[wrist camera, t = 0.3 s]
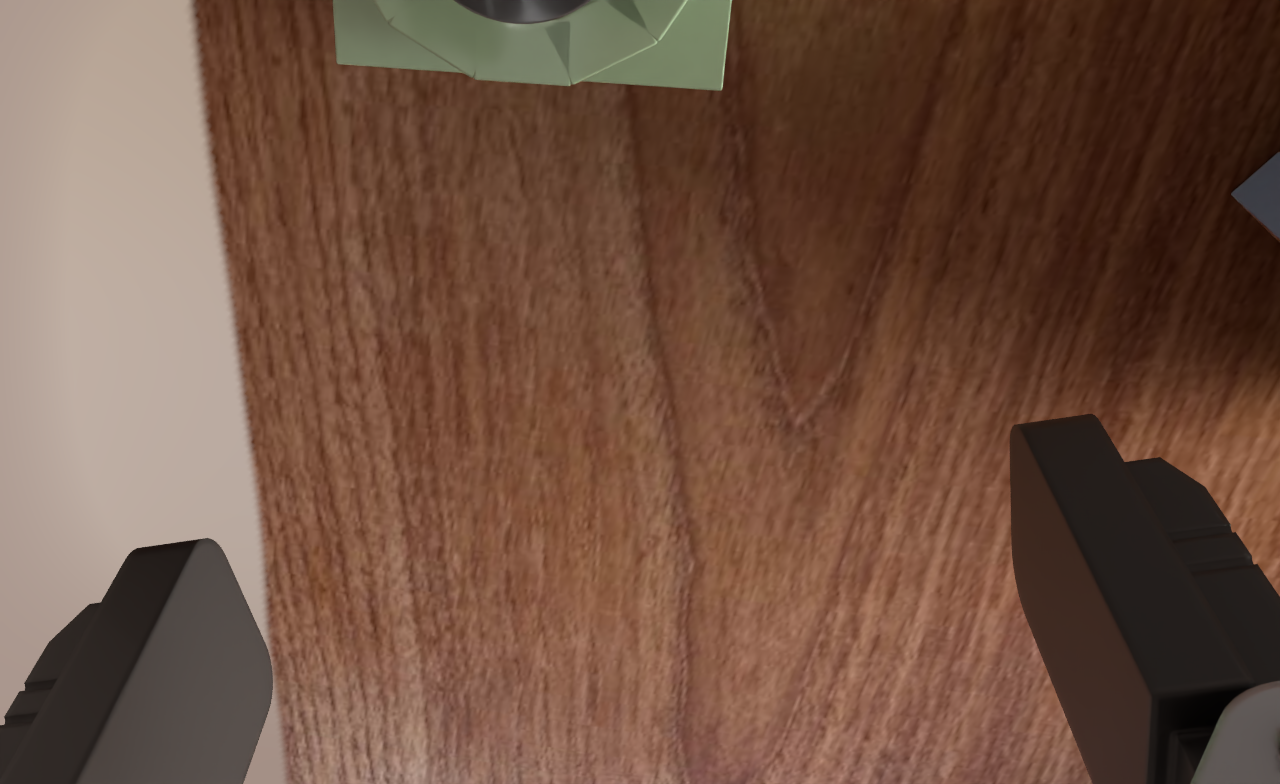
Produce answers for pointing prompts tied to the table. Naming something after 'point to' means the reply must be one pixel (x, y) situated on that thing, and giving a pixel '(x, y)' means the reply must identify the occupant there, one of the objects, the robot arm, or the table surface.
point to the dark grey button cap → (522, 9)
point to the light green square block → (543, 42)
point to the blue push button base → (1263, 195)
